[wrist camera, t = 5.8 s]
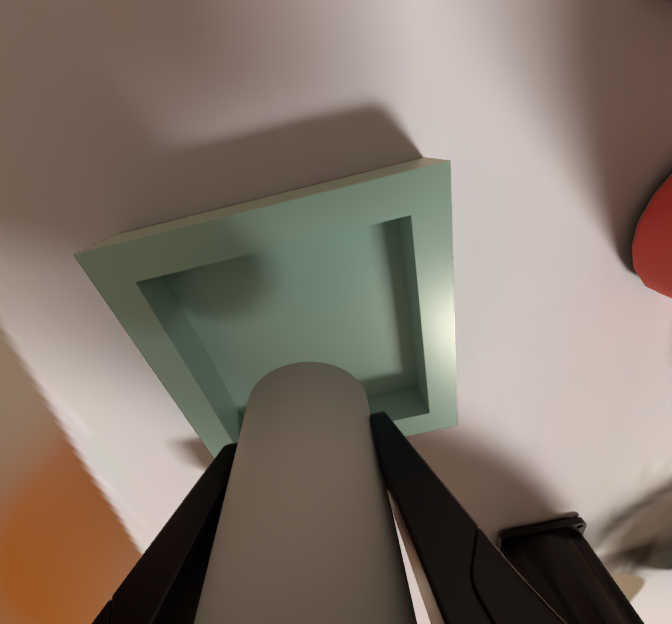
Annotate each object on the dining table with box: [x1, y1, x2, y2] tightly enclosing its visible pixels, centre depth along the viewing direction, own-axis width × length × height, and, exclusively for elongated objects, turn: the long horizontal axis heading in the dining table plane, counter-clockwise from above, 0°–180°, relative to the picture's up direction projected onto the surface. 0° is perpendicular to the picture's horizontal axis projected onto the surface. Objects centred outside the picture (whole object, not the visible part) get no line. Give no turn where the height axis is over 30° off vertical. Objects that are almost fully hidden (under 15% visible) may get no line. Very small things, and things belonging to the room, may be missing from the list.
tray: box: [74, 157, 458, 459], centre depth 12 cm, size 11×11×2 cm
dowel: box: [194, 362, 417, 624], centre depth 7 cm, size 4×4×6 cm
